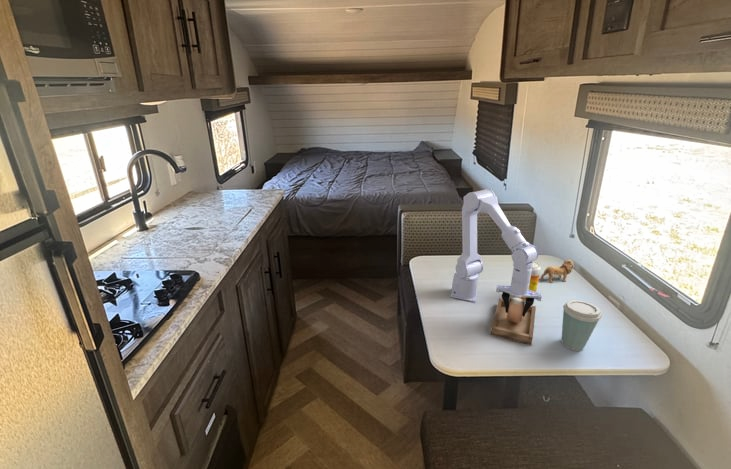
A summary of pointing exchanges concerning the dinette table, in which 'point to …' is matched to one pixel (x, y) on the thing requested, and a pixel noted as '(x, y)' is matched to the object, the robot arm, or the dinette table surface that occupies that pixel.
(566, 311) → the disposable coffee cup
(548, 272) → the lion figurine
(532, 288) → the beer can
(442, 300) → the dinette table surface
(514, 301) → the tan and white cylinder
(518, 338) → the tray
